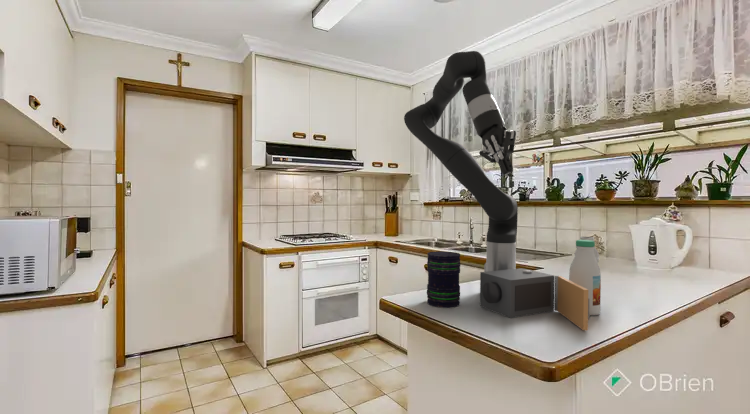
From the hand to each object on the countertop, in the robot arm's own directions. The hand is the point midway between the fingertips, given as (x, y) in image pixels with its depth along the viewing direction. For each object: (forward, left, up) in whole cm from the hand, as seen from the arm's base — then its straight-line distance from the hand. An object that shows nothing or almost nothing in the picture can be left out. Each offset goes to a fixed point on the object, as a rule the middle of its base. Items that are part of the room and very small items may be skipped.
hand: (508, 172), depth 100 cm
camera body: (-5, +7, -38) cm, 39 cm away
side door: (+9, +13, -38) cm, 41 cm away
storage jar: (-18, -8, -38) cm, 43 cm away
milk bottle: (+5, +23, -38) cm, 45 cm away
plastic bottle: (-1, +32, -38) cm, 50 cm away
